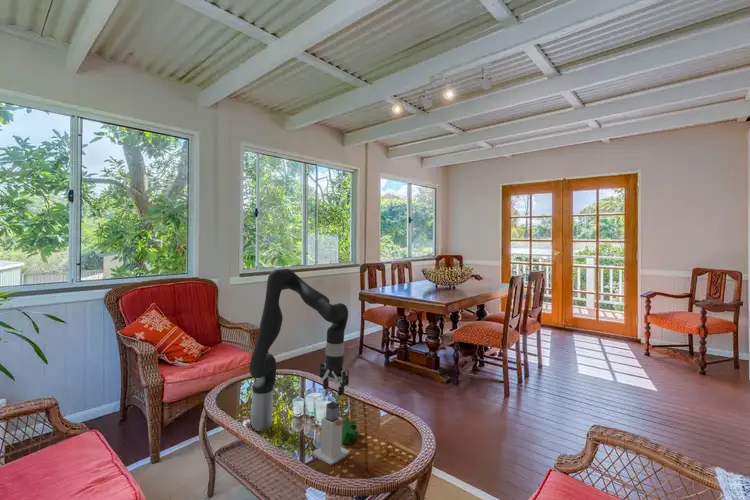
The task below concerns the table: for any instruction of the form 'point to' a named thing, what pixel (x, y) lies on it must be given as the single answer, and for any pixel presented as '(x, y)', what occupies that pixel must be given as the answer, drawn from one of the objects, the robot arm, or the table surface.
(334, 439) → the stand housing
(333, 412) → the column
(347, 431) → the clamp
